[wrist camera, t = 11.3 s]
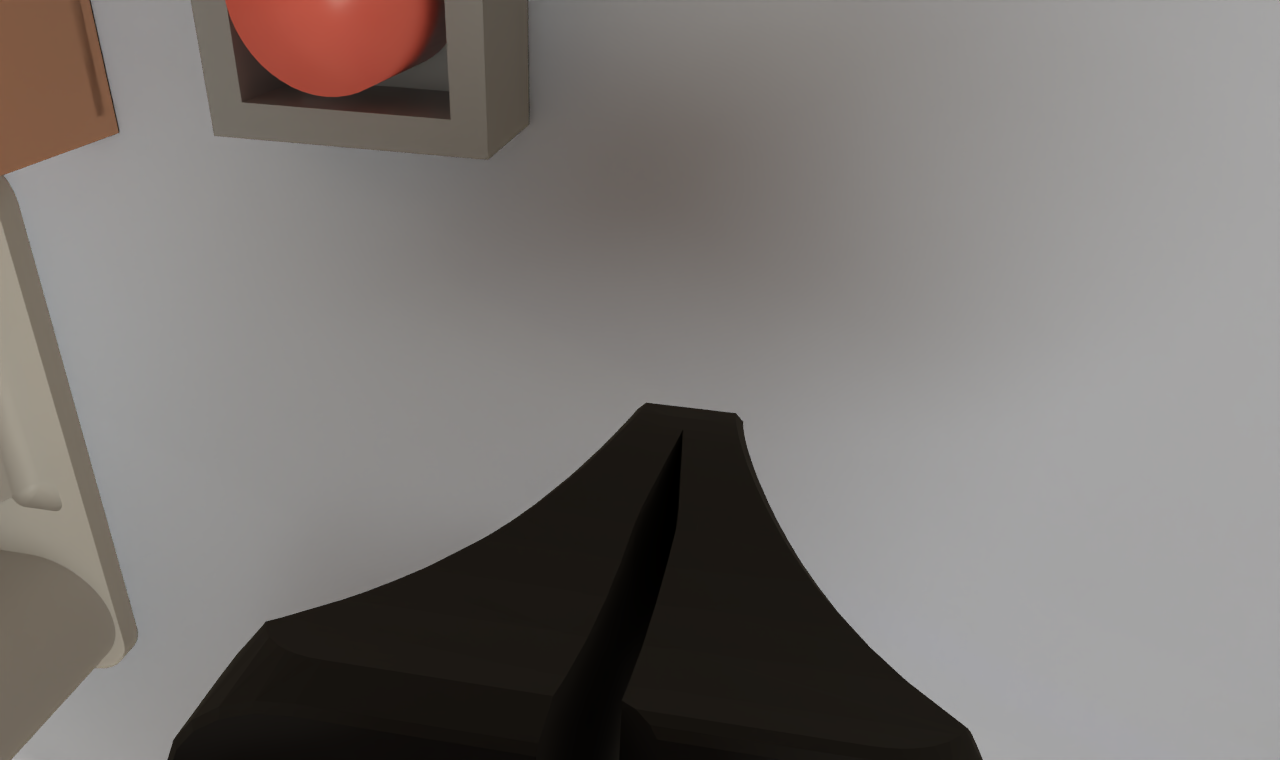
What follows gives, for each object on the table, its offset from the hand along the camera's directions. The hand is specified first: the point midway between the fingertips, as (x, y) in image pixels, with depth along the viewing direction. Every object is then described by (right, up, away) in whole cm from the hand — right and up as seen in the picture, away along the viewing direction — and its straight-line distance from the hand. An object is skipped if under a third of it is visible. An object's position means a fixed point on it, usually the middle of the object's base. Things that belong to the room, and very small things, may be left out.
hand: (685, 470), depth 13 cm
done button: (-6, +9, +6) cm, 12 cm away
